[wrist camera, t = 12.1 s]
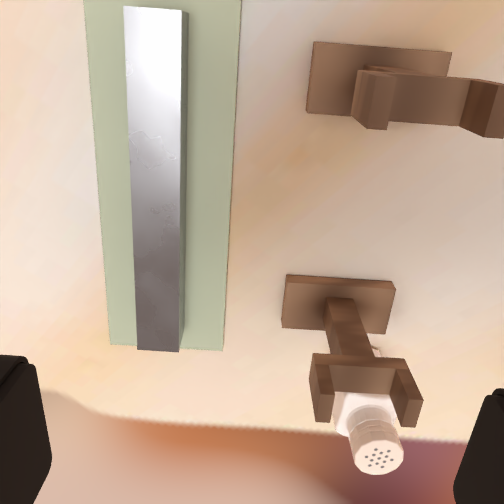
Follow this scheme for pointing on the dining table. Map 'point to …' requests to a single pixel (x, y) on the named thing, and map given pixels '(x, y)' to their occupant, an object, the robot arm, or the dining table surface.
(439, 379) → the dining table surface
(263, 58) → the dining table surface
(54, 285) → the dining table surface
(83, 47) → the dining table surface
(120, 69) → the board
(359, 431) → the salt shaker
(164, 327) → the rail
